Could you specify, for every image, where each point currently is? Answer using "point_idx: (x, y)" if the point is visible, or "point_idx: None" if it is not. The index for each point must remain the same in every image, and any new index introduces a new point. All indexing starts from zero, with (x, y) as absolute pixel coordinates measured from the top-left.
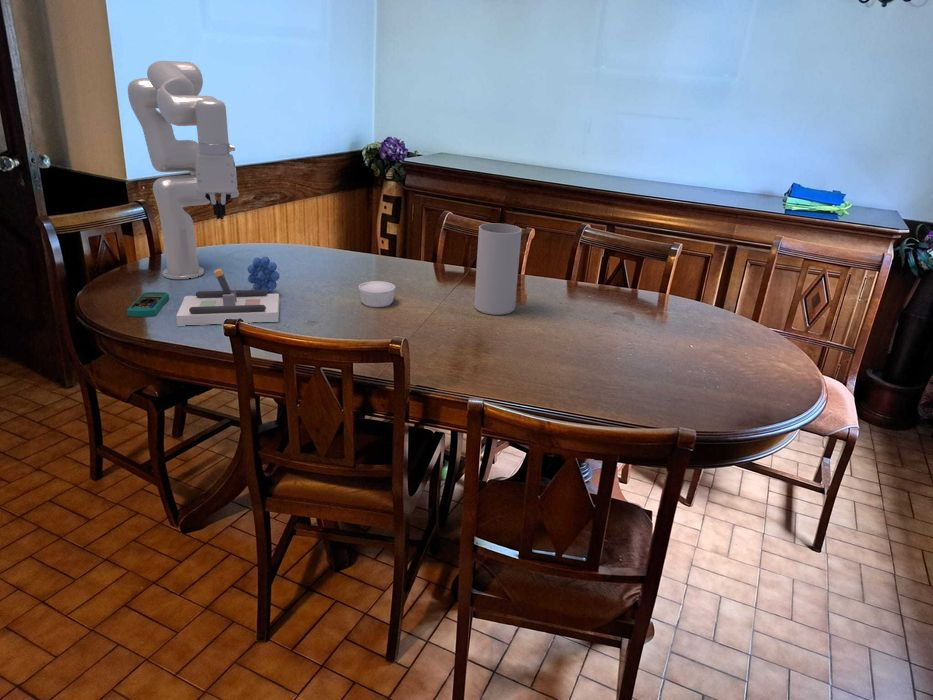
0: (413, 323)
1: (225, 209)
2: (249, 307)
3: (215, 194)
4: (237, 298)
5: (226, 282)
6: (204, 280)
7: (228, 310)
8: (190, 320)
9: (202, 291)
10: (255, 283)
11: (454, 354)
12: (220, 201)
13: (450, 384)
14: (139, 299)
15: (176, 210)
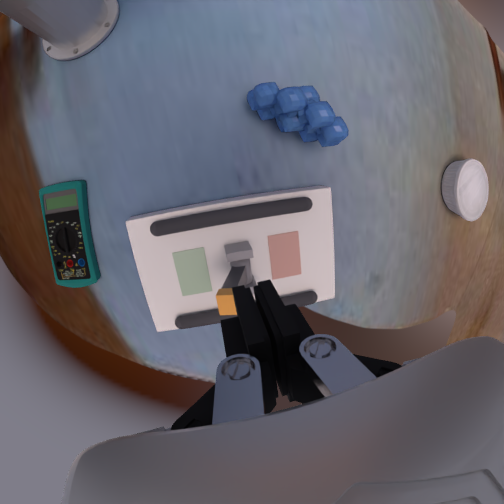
0: (469, 267)
1: (303, 318)
2: None
3: (263, 410)
4: (246, 226)
5: (241, 283)
6: (126, 47)
7: None
8: None
9: (165, 229)
10: (266, 111)
11: (466, 337)
12: (301, 401)
13: None
14: (48, 231)
15: None
